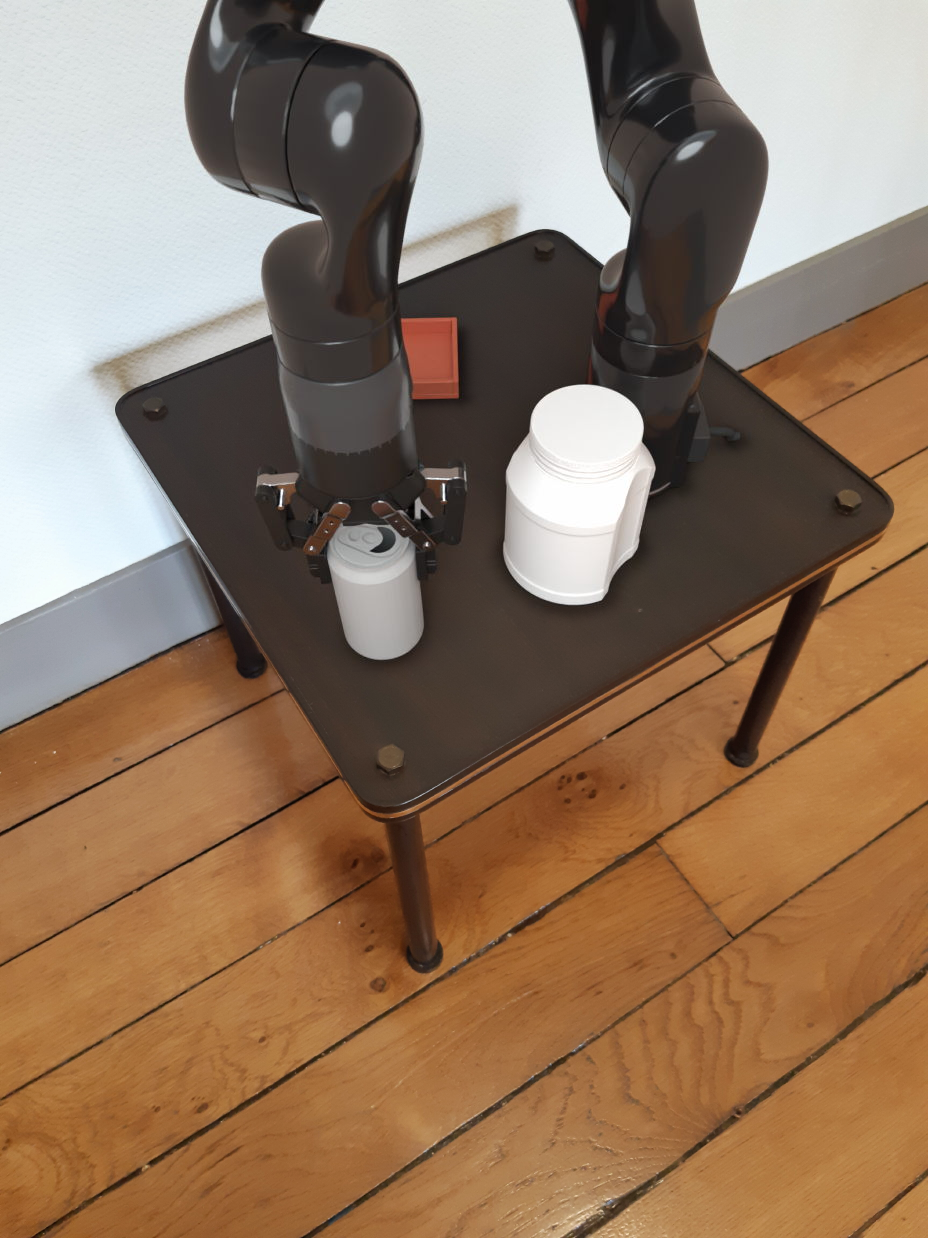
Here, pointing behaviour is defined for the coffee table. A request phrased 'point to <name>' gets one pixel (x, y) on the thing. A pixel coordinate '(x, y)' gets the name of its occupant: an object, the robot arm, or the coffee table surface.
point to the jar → (576, 494)
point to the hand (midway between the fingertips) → (375, 572)
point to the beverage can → (376, 589)
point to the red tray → (432, 356)
